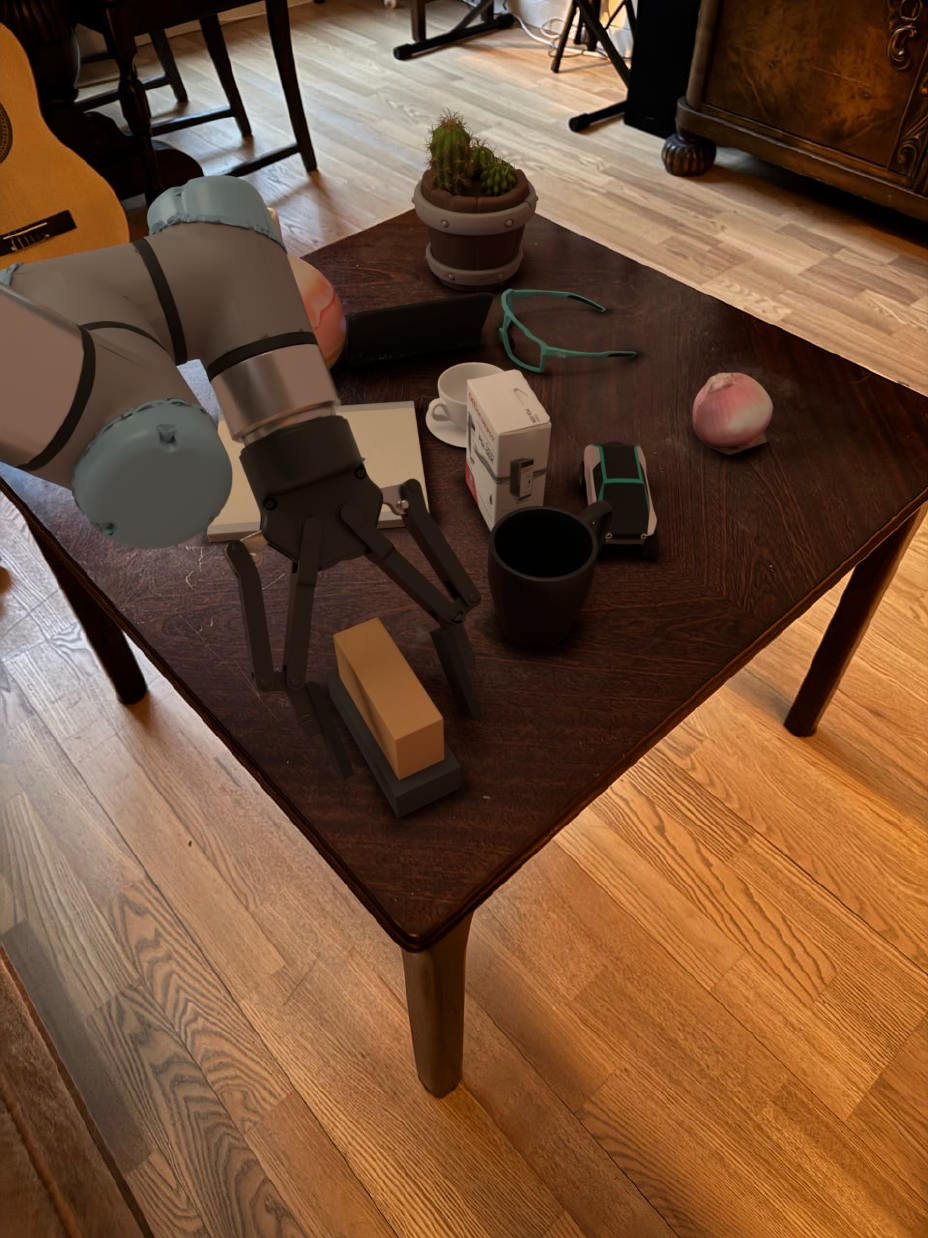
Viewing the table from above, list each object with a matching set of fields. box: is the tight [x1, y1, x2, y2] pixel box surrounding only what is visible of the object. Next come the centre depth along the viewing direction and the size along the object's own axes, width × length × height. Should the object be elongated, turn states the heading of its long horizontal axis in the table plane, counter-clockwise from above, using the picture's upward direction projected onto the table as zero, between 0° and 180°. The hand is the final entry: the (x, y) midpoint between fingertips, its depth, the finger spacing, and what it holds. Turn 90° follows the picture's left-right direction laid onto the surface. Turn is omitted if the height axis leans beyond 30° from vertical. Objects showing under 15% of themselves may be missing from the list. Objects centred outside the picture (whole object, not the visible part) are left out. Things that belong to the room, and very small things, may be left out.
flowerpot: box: [410, 107, 539, 293], centre depth 103 cm, size 14×15×20 cm
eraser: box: [325, 616, 462, 819], centre depth 61 cm, size 5×12×8 cm, turn 29°
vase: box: [266, 206, 346, 370], centre depth 89 cm, size 14×14×18 cm
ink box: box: [465, 368, 552, 532], centre depth 77 cm, size 9×5×12 cm, turn 18°
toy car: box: [578, 440, 659, 558], centre depth 79 cm, size 6×12×5 cm, turn 179°
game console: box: [342, 291, 494, 367], centre depth 96 cm, size 16×14×9 cm
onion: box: [692, 372, 774, 456], centre depth 86 cm, size 8×8×7 cm
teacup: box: [425, 361, 505, 449], centre depth 88 cm, size 10×10×5 cm
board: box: [206, 400, 430, 543], centre depth 84 cm, size 20×18×1 cm
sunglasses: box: [498, 288, 637, 373], centre depth 99 cm, size 14×15×5 cm
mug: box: [487, 500, 613, 651], centre depth 69 cm, size 8×12×10 cm
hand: (409, 744), depth 60 cm, fingers open, 9 cm apart
